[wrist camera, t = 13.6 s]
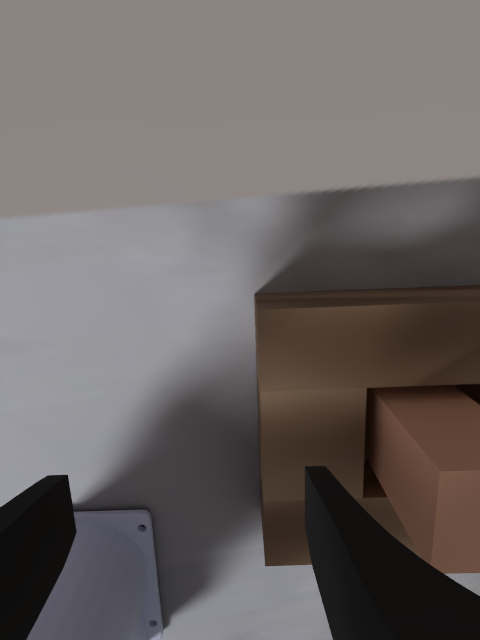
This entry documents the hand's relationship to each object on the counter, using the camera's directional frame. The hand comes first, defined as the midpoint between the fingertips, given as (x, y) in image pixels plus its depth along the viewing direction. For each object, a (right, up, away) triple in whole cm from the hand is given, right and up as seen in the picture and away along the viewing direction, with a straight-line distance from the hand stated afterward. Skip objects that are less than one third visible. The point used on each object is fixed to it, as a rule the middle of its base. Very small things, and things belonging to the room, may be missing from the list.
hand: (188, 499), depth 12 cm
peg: (+10, +1, +9) cm, 14 cm away
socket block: (+10, +1, +10) cm, 14 cm away
